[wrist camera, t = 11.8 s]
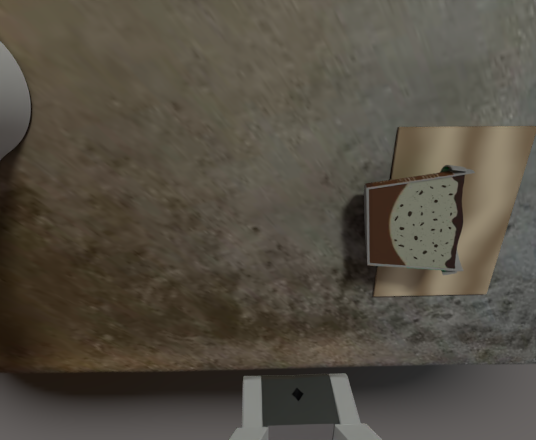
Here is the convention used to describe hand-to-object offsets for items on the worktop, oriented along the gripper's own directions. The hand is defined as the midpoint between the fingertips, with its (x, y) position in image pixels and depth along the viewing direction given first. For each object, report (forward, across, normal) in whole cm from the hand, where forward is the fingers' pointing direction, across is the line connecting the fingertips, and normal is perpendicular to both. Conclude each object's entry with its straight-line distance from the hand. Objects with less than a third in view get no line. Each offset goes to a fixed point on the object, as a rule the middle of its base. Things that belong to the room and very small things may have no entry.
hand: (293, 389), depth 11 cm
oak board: (+33, -22, +11) cm, 41 cm away
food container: (+31, -11, +10) cm, 35 cm away
